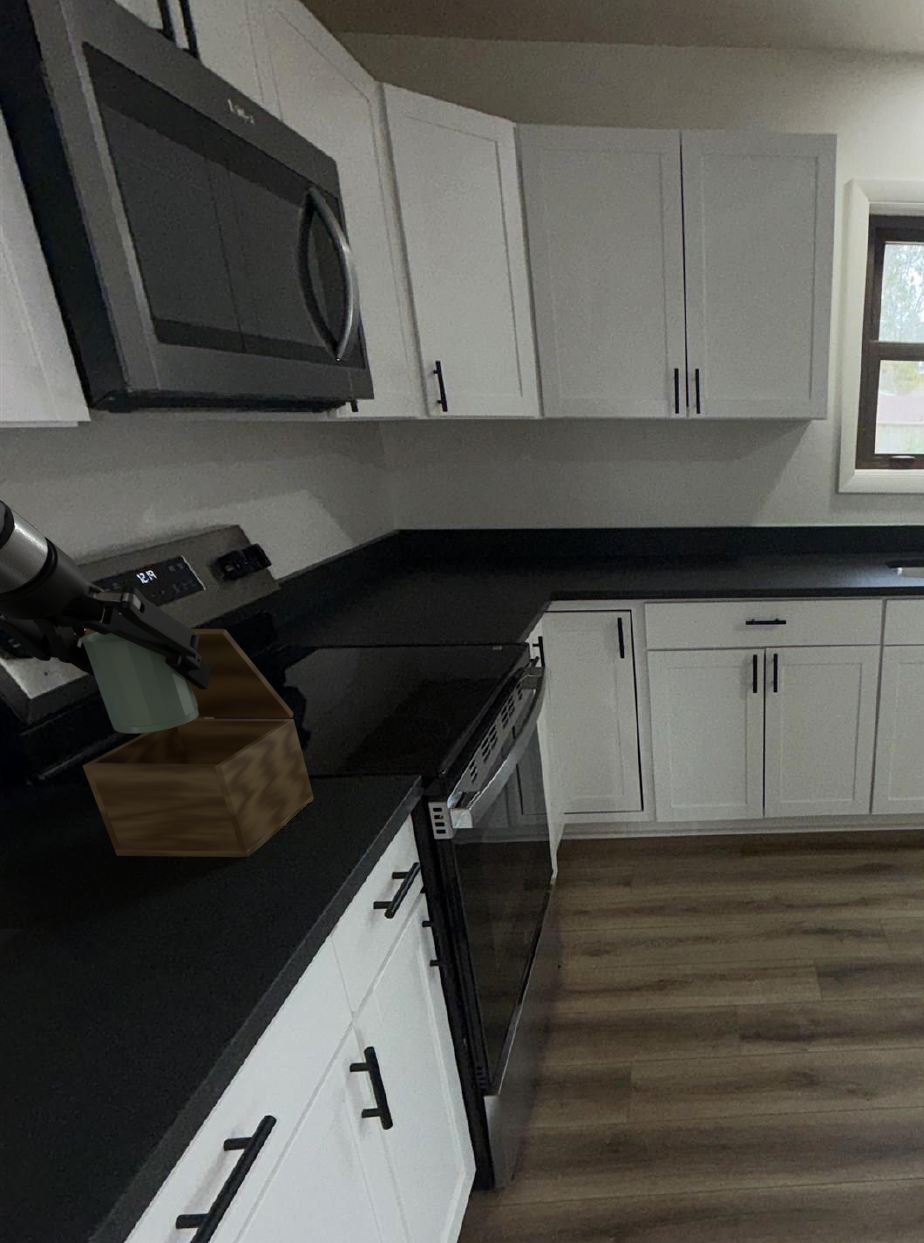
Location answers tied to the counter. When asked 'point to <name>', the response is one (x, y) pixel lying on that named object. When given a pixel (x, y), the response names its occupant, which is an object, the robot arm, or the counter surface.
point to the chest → (201, 788)
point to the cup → (138, 686)
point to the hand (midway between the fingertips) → (164, 679)
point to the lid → (233, 681)
